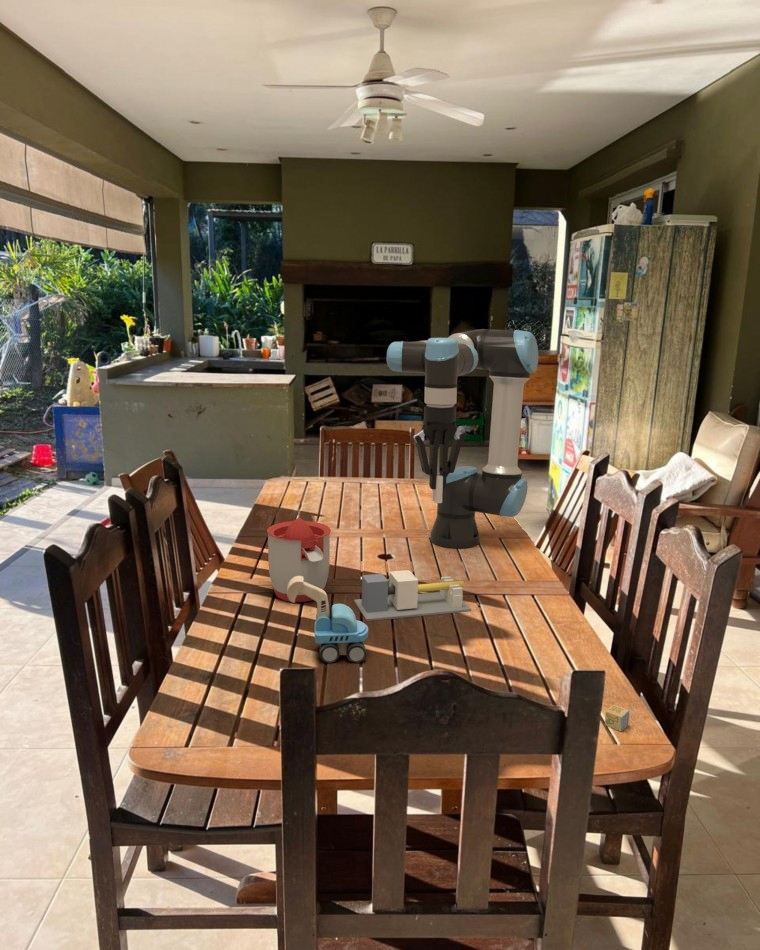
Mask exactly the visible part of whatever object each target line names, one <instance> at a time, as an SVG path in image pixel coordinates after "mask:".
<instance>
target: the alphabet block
mask: <svg viewBox="0 0 760 950" xmlns="http://www.w3.org/2000/svg"><path fill="white" fill-rule="evenodd" d="M630 712H631V711H630V709H626V708H624V707H621V706H618V705H617V704H612V705H611V706H610V707H608V708H607V709H606V710H605V716H604V717H605V718H604V721H605V722H604V726H606V727H608V728H610V729H614V730H616V731H618V732H623V731H624V730H625V729H626V728H627V727H628V726H629V721H630Z"/></svg>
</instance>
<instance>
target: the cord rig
mask: <svg viewBox="0 0 760 950" xmlns="http://www.w3.org/2000/svg"><path fill="white" fill-rule="evenodd" d="M463 589H465V583H464V581H463V580H458V581H457V580H455V579H453V578H452V576H451V575H450V576H441V577H440V582H432V583H420V584H419V583H418V601H417V608H411V609H400V610H397V609H396V608H395V606H394V605H393V604H392V602H391V601H390V600H389V595H393V594H395V586H393V587H389V580H388V579H387V578H386V576H384V574H383V573H378V574H377V573H375V574H362V576H361V599H360V598H358V599H353V602H354V604H355V606H356V607H357V608H358V610H359V611H360V613H361V615H362V616H363V618H364V620H365V622H371V621H372V622H373V621H383V620H392V619H393V620H394V619H402V618H404V619H405V618H413V617H423V616H433V615H445V614H454V613H464V612H465V613H467V612H472V610H473V609H472V608H471V607H470V606H469V604H467V603H466V602H465V601H464V600H463V599H464V595H463V591H464V590H463ZM434 591H436V592H434ZM423 592H425V593H423ZM426 592H427V593H426Z"/></svg>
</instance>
